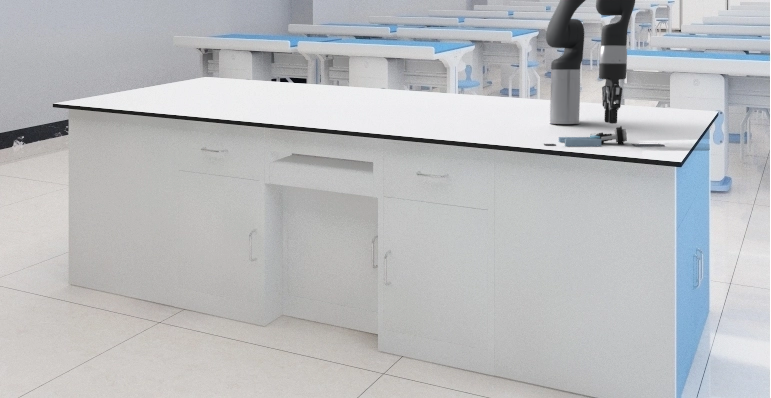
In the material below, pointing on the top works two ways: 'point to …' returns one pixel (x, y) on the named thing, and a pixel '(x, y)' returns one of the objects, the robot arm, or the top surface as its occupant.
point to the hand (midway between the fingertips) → (610, 122)
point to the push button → (612, 136)
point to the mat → (648, 145)
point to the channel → (580, 141)
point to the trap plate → (550, 144)
